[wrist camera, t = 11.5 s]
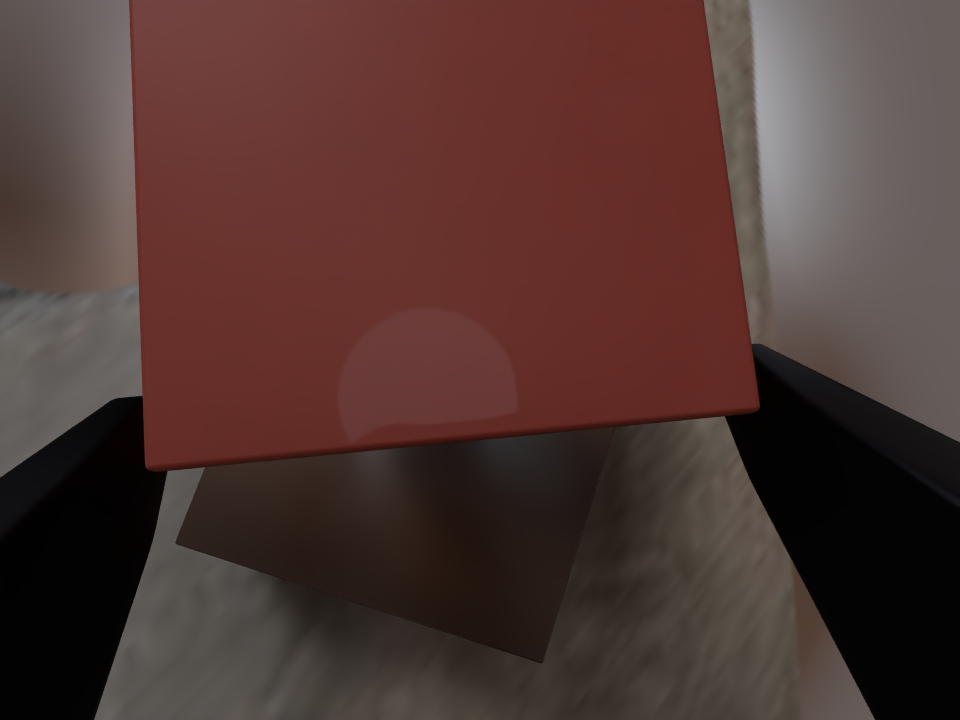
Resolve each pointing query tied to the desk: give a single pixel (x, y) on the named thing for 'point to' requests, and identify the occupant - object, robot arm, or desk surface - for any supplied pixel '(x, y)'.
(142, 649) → the desk surface
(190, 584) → the desk surface
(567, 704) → the desk surface
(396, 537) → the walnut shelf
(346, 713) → the desk surface
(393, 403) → the pillar block
